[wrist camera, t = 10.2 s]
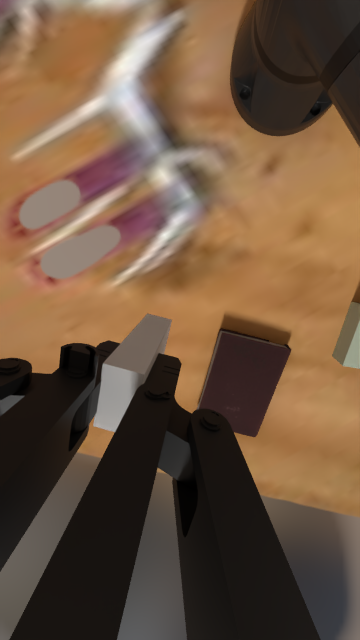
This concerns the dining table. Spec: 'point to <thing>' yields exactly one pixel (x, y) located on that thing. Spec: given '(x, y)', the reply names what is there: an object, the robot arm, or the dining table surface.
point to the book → (243, 379)
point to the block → (349, 339)
